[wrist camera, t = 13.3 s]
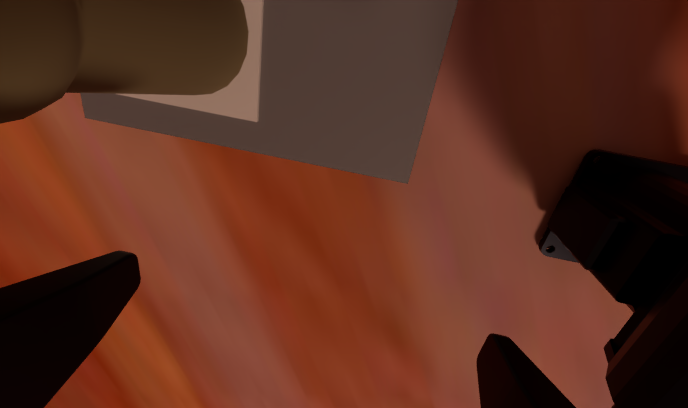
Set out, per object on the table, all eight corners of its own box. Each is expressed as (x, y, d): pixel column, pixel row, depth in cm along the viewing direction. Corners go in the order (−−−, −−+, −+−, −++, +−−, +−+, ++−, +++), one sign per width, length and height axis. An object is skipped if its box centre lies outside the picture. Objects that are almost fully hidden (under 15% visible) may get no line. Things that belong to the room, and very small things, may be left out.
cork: (97, 4, 15) (-468, -86, 5) (185, -92, 13) (-462, -538, 3) (185, 118, 17) (-108, 213, 7) (274, 49, 15) (41, 46, 5)
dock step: (469, -67, 14) (482, -87, 12) (406, 171, 19) (407, 185, 17) (76, -132, 15) (27, -160, 13) (113, 111, 20) (82, 118, 18)
